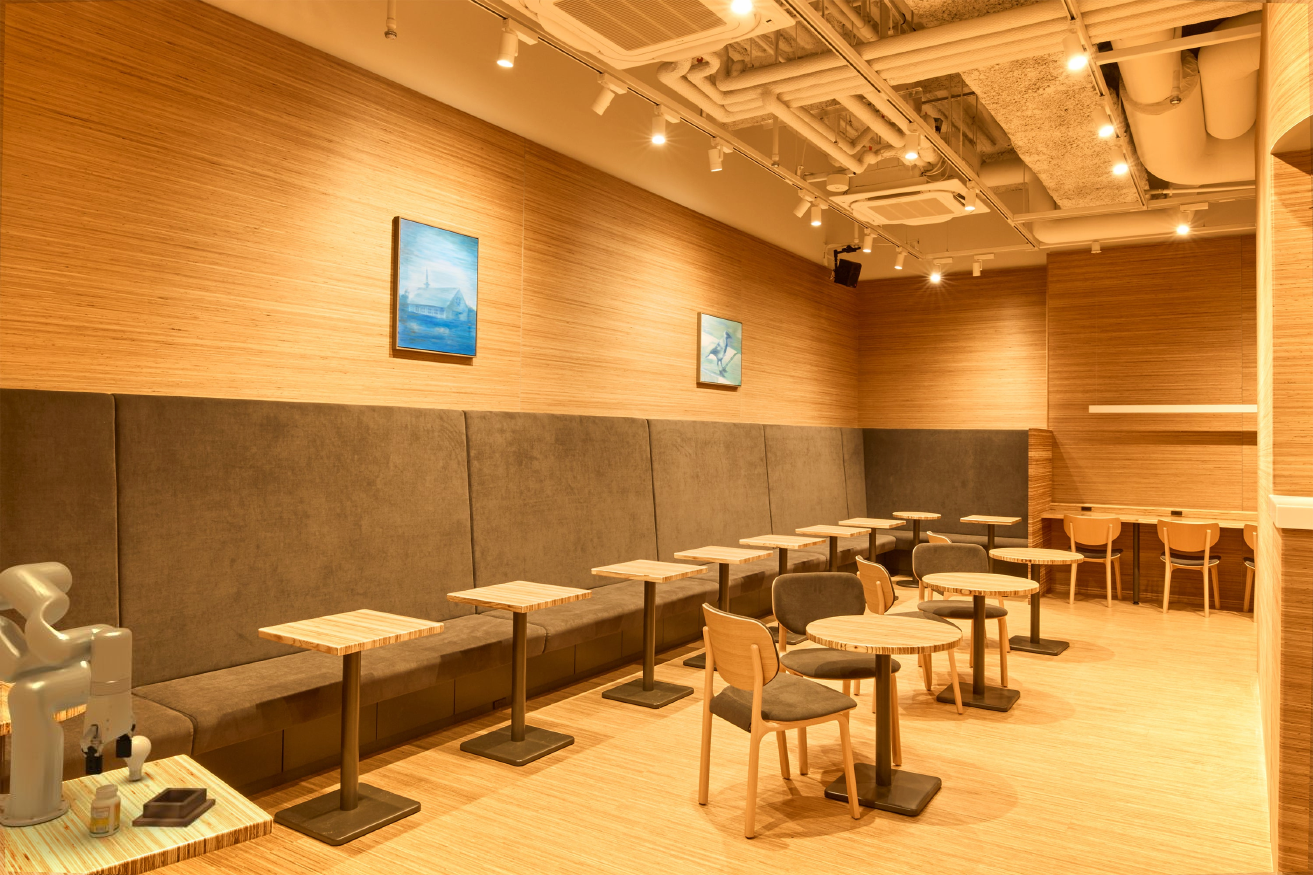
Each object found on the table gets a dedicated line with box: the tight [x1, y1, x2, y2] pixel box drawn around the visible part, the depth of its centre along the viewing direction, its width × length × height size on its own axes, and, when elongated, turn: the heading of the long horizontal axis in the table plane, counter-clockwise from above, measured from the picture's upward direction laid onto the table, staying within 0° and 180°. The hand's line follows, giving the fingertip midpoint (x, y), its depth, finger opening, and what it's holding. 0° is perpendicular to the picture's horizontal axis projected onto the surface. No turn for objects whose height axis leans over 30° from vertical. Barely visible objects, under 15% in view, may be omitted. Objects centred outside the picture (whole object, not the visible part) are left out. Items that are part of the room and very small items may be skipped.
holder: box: [131, 787, 217, 828], centre depth 185 cm, size 12×12×4 cm
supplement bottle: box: [89, 783, 122, 838], centre depth 176 cm, size 5×5×10 cm
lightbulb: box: [123, 735, 152, 782], centre depth 204 cm, size 6×6×11 cm
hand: (109, 765), depth 176 cm, fingers open, 9 cm apart
